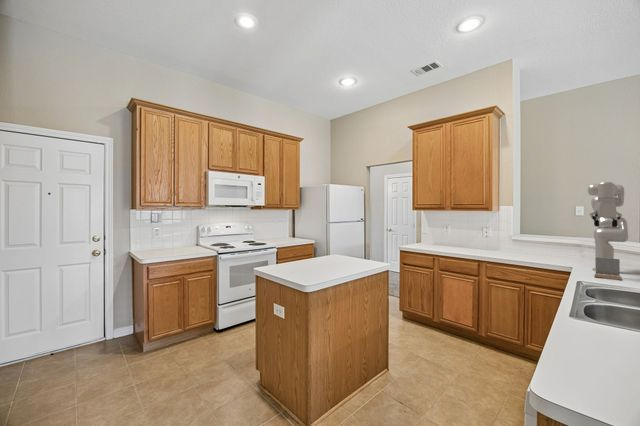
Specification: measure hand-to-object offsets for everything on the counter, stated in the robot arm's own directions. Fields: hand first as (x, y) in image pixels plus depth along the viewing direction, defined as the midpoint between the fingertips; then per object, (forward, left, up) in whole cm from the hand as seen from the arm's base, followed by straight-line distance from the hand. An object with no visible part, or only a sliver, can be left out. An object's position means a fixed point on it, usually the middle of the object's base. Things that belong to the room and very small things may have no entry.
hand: (605, 226), depth 187 cm
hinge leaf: (+1, +1, -27) cm, 27 cm away
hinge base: (+8, +1, -34) cm, 35 cm away
